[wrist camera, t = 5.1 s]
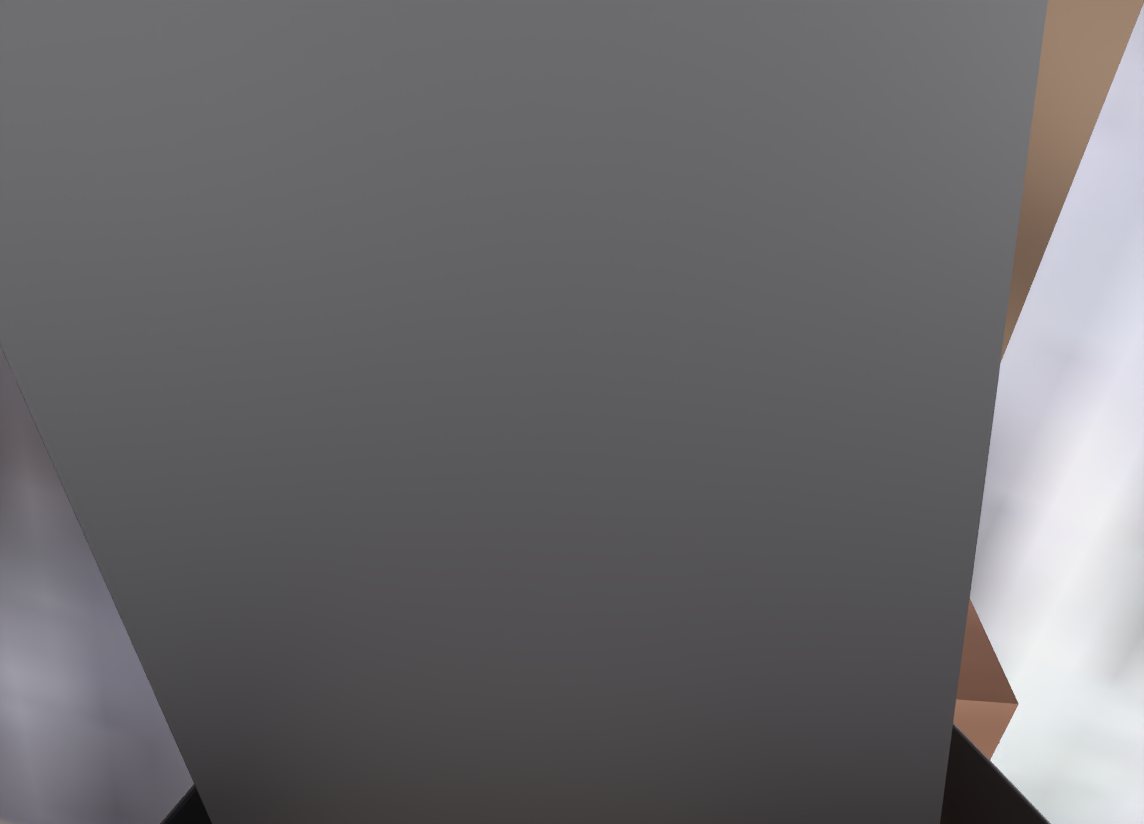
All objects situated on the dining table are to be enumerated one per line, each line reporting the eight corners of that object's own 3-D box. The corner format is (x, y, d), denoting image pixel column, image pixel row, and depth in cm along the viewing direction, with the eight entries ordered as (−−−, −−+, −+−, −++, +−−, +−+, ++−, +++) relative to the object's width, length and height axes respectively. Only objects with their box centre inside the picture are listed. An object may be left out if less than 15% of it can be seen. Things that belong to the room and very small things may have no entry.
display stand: (862, 628, 23) (952, 895, 18) (428, 594, 22) (393, 862, 17) (1317, -582, 12) (1845, -767, 7) (522, -728, 12) (501, -1044, 7)
